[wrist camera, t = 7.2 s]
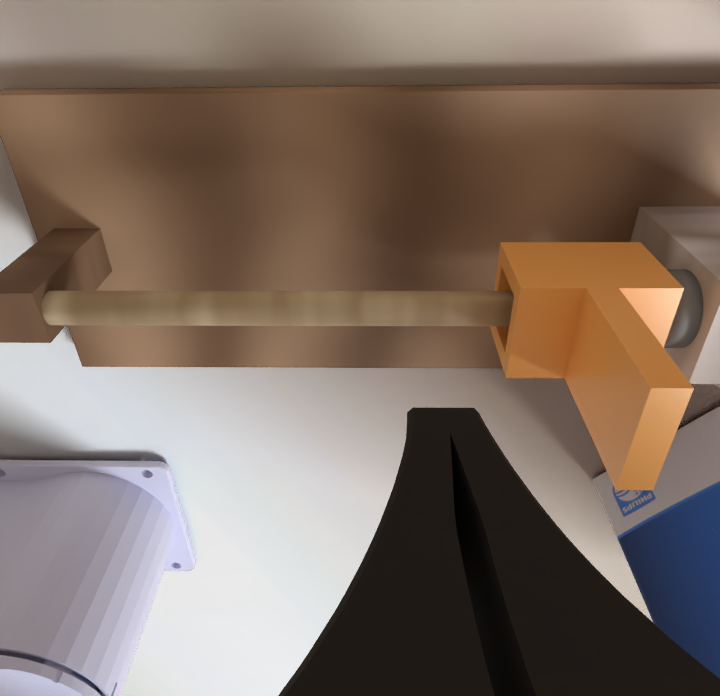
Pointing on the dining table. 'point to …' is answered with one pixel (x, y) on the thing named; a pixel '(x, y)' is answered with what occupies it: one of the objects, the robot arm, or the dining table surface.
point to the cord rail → (345, 216)
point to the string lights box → (677, 539)
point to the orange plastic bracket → (599, 344)
